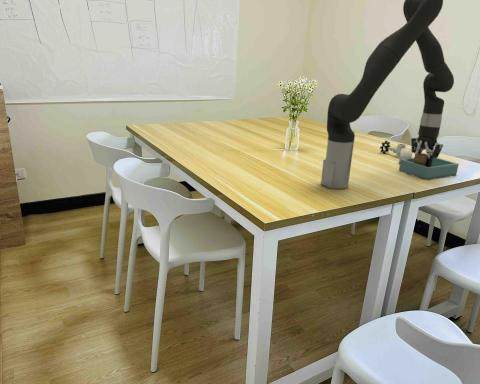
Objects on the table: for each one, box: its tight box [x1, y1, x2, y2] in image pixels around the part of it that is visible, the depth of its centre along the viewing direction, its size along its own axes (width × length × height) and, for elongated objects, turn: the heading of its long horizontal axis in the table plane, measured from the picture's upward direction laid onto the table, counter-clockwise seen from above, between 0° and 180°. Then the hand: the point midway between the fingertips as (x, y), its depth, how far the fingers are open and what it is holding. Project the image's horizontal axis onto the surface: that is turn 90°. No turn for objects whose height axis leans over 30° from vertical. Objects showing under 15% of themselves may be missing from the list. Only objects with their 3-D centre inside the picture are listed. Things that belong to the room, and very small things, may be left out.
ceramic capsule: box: [398, 147, 414, 165], centre depth 176 cm, size 5×5×7 cm
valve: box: [379, 140, 406, 159], centre depth 190 cm, size 7×7×12 cm
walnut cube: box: [413, 152, 433, 167], centre depth 161 cm, size 5×5×5 cm
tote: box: [398, 157, 460, 181], centre depth 164 cm, size 18×14×5 cm
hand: (422, 165), depth 161 cm, fingers closed on walnut cube, 4 cm apart
